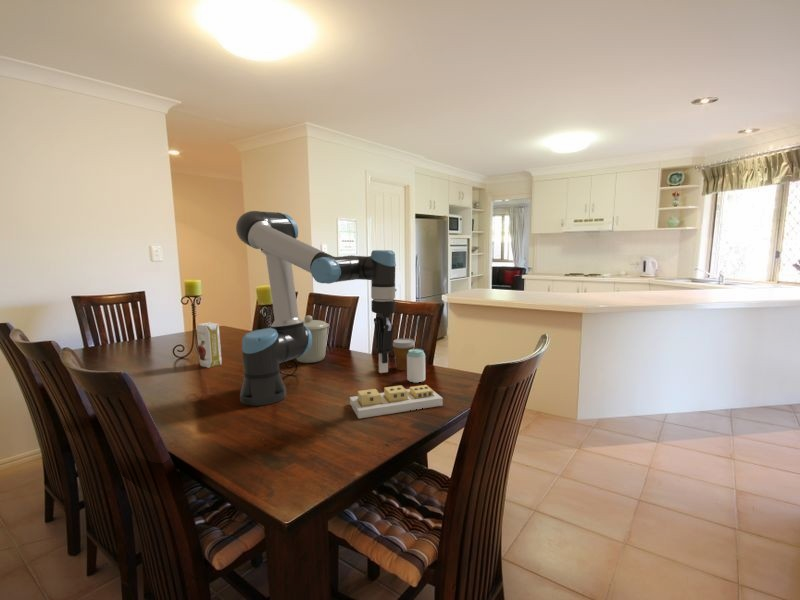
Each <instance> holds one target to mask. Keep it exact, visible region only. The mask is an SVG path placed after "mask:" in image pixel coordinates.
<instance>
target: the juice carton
mask: <svg viewBox="0 0 800 600" xmlns="http://www.w3.org/2000/svg"><path fill="white" fill-rule="evenodd" d="M196 335H197V336H196V339H197V349H198V360H199V366H201V367H204V368H209V369H210V368H213V367H218V366H222V348H221V336H220V326H219V323H213V322H211V321H209V322H203V323H198V324H196Z"/></svg>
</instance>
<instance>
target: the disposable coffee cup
mask: <svg viewBox="0 0 800 600" xmlns="http://www.w3.org/2000/svg"><path fill="white" fill-rule="evenodd" d="M415 344H416V343H415V340H414V339H412V338H396V339H394V340H392V344H391V346H393V352H394V358H395V359H394V360H395V367H396V369H397V370H399V371H407V354H408V352H409V350H410V349H415V348H414V347H415Z"/></svg>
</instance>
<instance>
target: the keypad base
mask: <svg viewBox="0 0 800 600" xmlns="http://www.w3.org/2000/svg"><path fill="white" fill-rule="evenodd" d="M405 389H406V390H407V391H408V400H405V401H399V402H392V403H389V402H388V401H387V400H386V399H385V396H384V392H379V393H380V395H381V404H378V405H372V406H365V407H361V405H360V404H359V402H358V395H355V396H350V397H349V404H350V407H351V406H352V407H351V408H352V410H353V412H354V413H355V415H356V417H357V418H358V419H359V420H360V419H364V418H371V417H377V416H384V415H390V414H396V413H397V414H398V413H402V412H410V410H411V411H416V409H417V410H421V409H422V408H423V409H427V408H428V409H429V408H435V407H442V406H444V404H443V403H444V398H443V397H442V396H441V395H440V394H438V393H437V392H436V391H434V390H433V397H426V398H419V399H415V398H414V397H413V396H412V395H411V394H410V388H405Z"/></svg>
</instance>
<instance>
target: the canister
mask: <svg viewBox="0 0 800 600" xmlns="http://www.w3.org/2000/svg"><path fill="white" fill-rule="evenodd" d="M303 323H304V326H306V327H307V328H308V330H310V332H311V335H312V345H311V347H310V349H309V350H308V352H307V353H306V354H304V355H302V356H300V357H298V358H295V359H296V361H297V362H299V363H301V364H313V363H319V362H321V361H322V360H324V359H325V356H326V351H327V341H328V339H327V338H328V327H329V326H330V324H329V323H327V322H326V321H324V320H319V319H313V316H312V315H309V314H308V315H306V316H304V320H303Z"/></svg>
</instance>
